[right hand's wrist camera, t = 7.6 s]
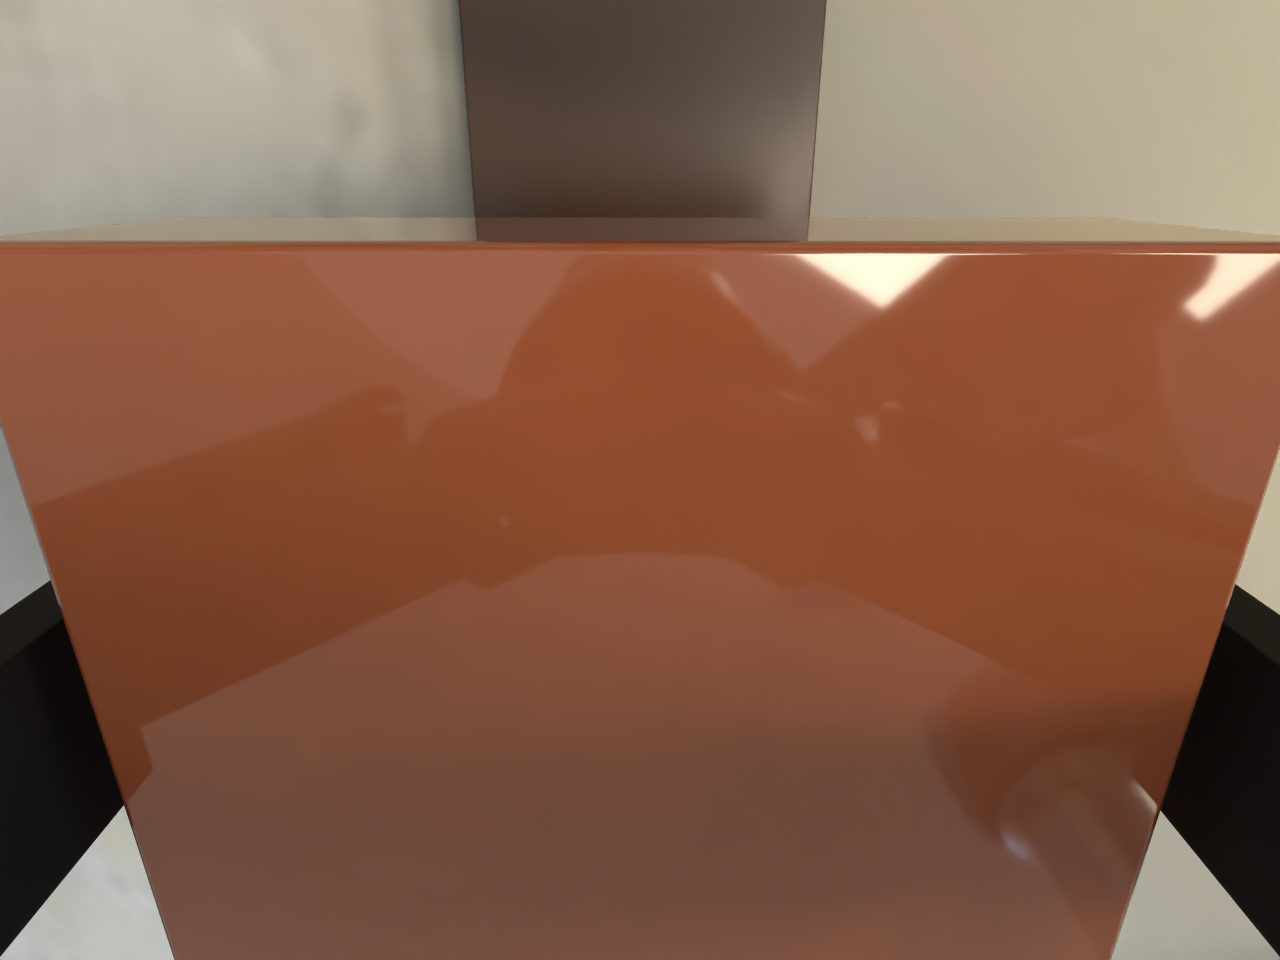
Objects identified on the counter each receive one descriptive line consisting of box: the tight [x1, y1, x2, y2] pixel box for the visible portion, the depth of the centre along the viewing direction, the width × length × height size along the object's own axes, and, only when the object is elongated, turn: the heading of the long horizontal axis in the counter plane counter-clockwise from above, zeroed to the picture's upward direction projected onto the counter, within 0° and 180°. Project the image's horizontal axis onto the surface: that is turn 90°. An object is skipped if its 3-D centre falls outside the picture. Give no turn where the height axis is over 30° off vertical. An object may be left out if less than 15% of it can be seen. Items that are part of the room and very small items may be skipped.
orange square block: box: [0, 217, 1280, 960], centre depth 10 cm, size 11×11×5 cm
